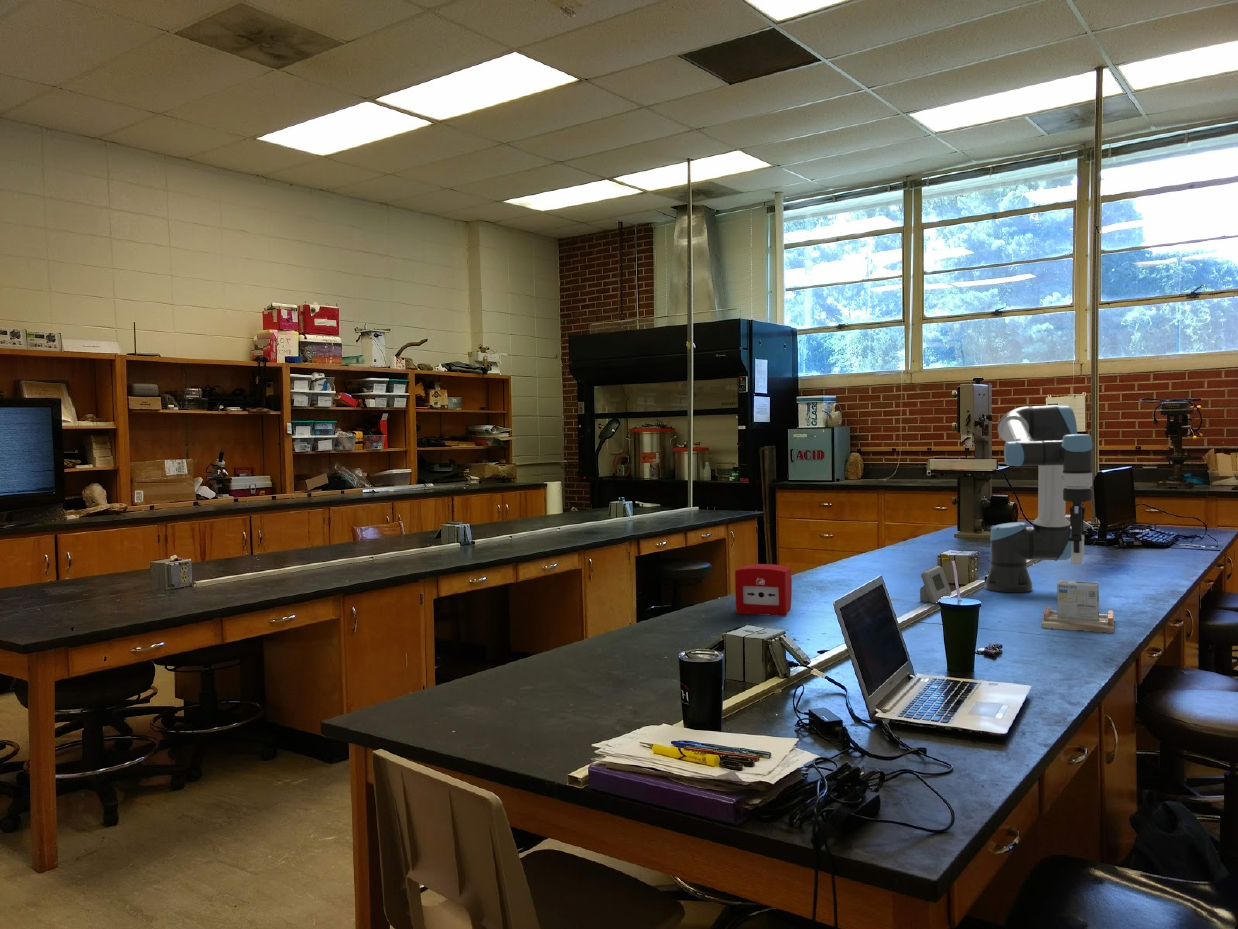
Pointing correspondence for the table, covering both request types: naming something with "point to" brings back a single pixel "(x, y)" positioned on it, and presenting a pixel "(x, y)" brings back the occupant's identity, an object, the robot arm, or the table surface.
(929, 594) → the digital clock
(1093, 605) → the light bulb box
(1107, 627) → the mounting board
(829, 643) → the table surface
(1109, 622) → the rectangular frame
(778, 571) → the fire alarm
